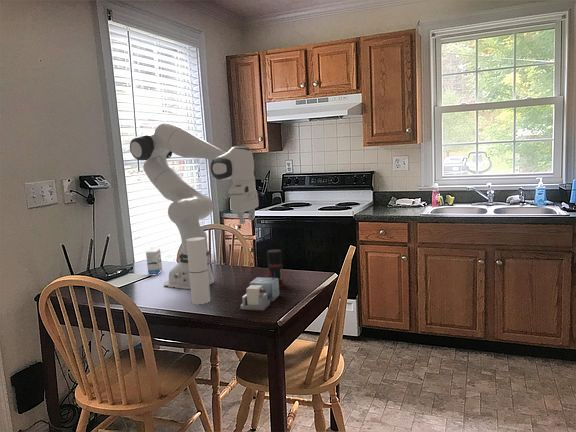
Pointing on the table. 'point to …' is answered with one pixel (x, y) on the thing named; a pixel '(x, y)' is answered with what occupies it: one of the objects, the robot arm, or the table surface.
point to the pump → (254, 294)
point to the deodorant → (275, 265)
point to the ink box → (154, 261)
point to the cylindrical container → (198, 270)
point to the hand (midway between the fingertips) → (247, 221)
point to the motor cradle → (264, 300)
